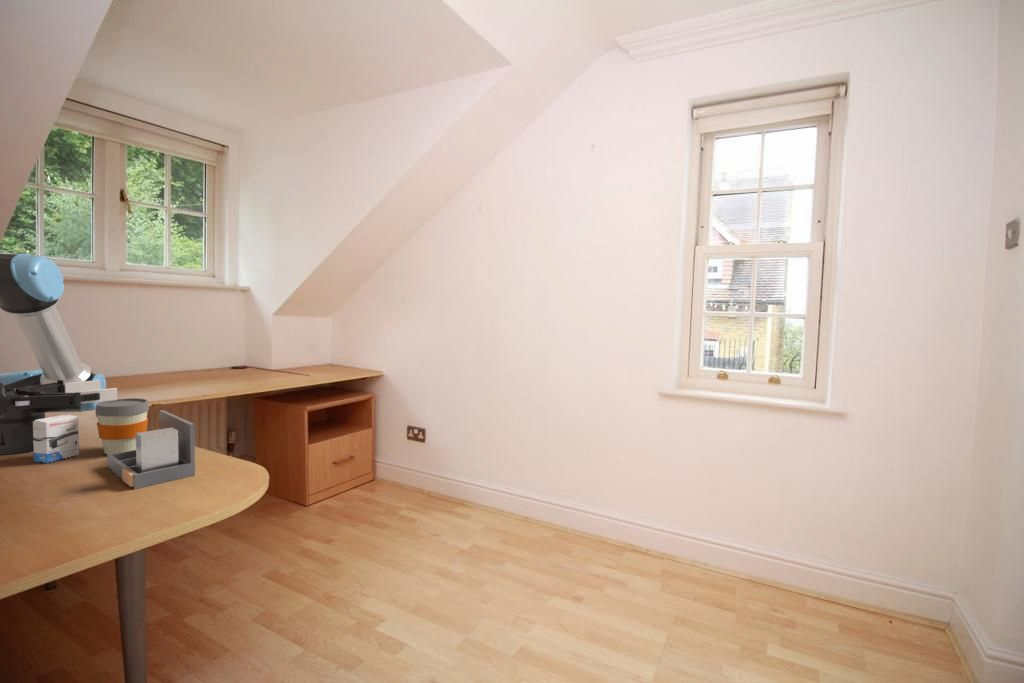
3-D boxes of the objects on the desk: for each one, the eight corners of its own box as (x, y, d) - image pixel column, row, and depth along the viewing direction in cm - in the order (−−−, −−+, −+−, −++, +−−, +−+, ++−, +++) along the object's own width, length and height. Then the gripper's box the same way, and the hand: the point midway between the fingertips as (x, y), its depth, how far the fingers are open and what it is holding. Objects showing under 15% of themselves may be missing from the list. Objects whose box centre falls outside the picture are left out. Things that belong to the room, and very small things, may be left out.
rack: (104, 468, 130) (103, 417, 129) (164, 456, 141) (163, 410, 140) (131, 489, 117) (130, 433, 116) (194, 475, 128) (194, 424, 127)
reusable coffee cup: (116, 459, 137) (115, 408, 136) (85, 454, 140) (84, 404, 139) (159, 447, 149) (159, 400, 148) (129, 443, 152) (129, 396, 151)
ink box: (46, 464, 132) (45, 422, 131) (32, 462, 133) (31, 420, 132) (80, 454, 140) (79, 415, 139) (67, 453, 141) (65, 413, 140)
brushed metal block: (136, 478, 123) (135, 433, 122) (172, 470, 129) (172, 427, 128) (142, 482, 120) (141, 436, 119) (178, 474, 127) (178, 430, 126)
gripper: (-31, 409, 106) (94, 397, 123) (-14, 432, 91) (125, 413, 108) (-32, 376, 105) (93, 368, 122) (-16, 393, 90) (124, 381, 107)
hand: (108, 389), depth 115 cm, fingers open, 13 cm apart
